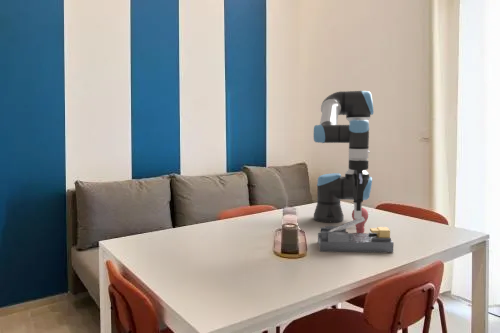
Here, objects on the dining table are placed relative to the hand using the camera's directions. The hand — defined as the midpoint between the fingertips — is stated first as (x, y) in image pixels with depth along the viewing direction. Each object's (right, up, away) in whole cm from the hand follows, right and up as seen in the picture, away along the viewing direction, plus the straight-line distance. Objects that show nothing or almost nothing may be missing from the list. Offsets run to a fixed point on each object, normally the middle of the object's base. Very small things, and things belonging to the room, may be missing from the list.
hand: (357, 218), depth 166 cm
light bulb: (+6, -10, +21) cm, 24 cm away
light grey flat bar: (-5, -4, +1) cm, 7 cm away
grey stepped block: (-1, -12, +2) cm, 12 cm away
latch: (+9, -8, +1) cm, 12 cm away
